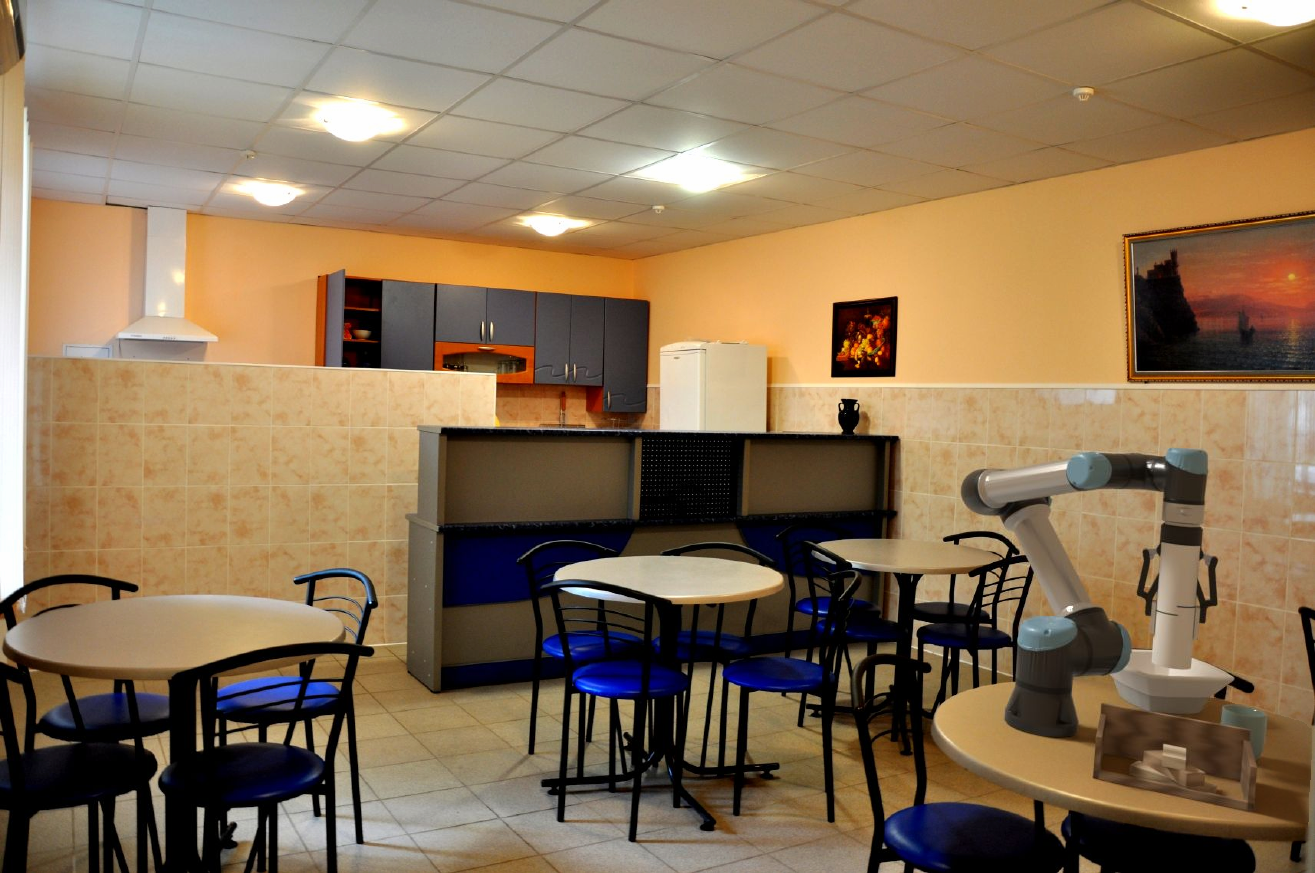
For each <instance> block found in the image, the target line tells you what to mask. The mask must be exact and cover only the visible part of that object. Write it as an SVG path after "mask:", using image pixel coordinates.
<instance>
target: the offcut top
mask: <svg viewBox="0 0 1315 873" xmlns="http://www.w3.org/2000/svg"><path fill="white" fill-rule="evenodd" d="M1185 765H1186V748H1182V747H1177V746H1172V745H1167V744H1164V745H1163V756H1162V766H1165V767H1170V768H1174V769H1179V770H1184V771H1185Z"/></svg>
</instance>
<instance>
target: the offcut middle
mask: <svg viewBox="0 0 1315 873" xmlns="http://www.w3.org/2000/svg"><path fill="white" fill-rule="evenodd" d="M1162 756H1163V751H1162V750H1152V751H1144V757H1143V761H1142V762H1143V764H1145V765H1147V766H1149V767H1150V768H1152V769H1154V770H1156V771H1158V772H1159V773H1161V774H1163V775H1165V776H1167V777H1169V778H1170V779H1172V780H1174V781H1176V782H1178V783H1179V784H1181V785H1183V786H1185V787H1194V786H1204V785H1205V782H1206V774H1205V772H1203V771H1201V770H1199V769H1197V768H1195V767H1193V766H1192V765H1190V764H1188V763H1186V765H1185V771H1184V770H1179V769H1174V768H1170V767H1165V766H1162Z"/></svg>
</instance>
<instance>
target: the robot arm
mask: <svg viewBox="0 0 1315 873" xmlns="http://www.w3.org/2000/svg"><path fill="white" fill-rule="evenodd" d="M1208 463H1209V456H1208V452H1207V451H1205V450H1204V449H1199V448H1185V447H1182V448H1181V447H1170V448H1168V449H1167V450H1166V455H1165V456H1164V455H1154V454H1145V453H1140V452H1127V453H1125V452H1124V453H1110V452H1108V453H1107V452H1096V451H1087V452H1078V453H1076V454H1074V455H1073V456H1072V457H1067V458H1063V459H1057V460H1052V461H1046V462H1041V463H1036V464H1031V465H1026V466H1021V467H1014V468H1008V469H1004V468H1003V469H1001V468H993V467H991V468H981V469H980V468H979V469H976V470H974V471H971V472H970V473H969V474H967V475H966V476H965V478H964V479H963V480H962V483H961V486H960V496H961V499H962V501H963V503H964V505H965V507H966V508H968V510H970V512H971V511H972V512H973V513H975V514H978V515H980V516H987V517H988V516H989V517H991V516H992V517H993V516H994V517H996V516H997V517H999V518H1000V520H1001V522H1002V524H1003V526H1004V528H1005V529H1006V530H1008V531H1010V532H1013V533H1014V534H1015V536H1016V538H1017V541H1018V542H1019V544H1020V546H1021V548H1022V551H1023V553H1024V555H1025V556H1026V559H1027V561H1028V563H1029V565H1030V567H1031V569H1032V572H1033V573H1034V575H1035V577H1036V579H1037V581H1038V583H1039V585H1040V588H1041V590H1042V591H1043V593H1044V595H1045V598H1046V599H1047V602H1048V603H1049V606H1050V608H1051V609H1052V611H1053V614H1054V615H1051V616H1047V615H1039V616H1032V617H1029V618H1026V619H1024V620H1023V621H1022V622H1021V624H1020V626H1019V631H1018V637H1017V651H1016V668H1015V670H1016V671H1015V681H1014V688H1013V690H1012V693H1010V694H1011V695H1010V697H1009V699H1008V701H1007V704H1006V707H1004V708H1005V709H1004V716H1003V718H1004V719H1003V720H1004V721H1005V722H1006V724H1008V725H1009V726H1011V727H1013V728H1015V729H1017V730H1019V731H1023V732H1026V733H1030V734H1034V735H1039V736H1045V737H1053V738H1054V737H1055V738H1062V737H1063V738H1064V737H1066V738H1067V737H1072V736H1075V735H1077V734H1078V732H1079V722H1080V721H1079V718H1078V714H1077V710H1076V709H1077V708H1076V706H1075V702H1074V699H1073V684H1074V678H1081V677H1082V678H1083V677H1090V676H1091V677H1092V676H1100V677H1103V676H1104V677H1105V676H1108V675H1110V674H1113V673H1117V672H1120V671H1121V670H1123V669H1124V668H1125V667H1126V666H1127V664H1128V662H1129V660H1130V654H1131V653H1132V650H1133V644H1132V638H1131V636H1130V633H1129V631H1128V629H1127V628H1126V627H1125V626H1124V625H1123V624H1121V623H1118V622H1117V621H1114V620H1110V619H1109V617H1108V615H1107V613H1106V611H1105V609H1104V607H1102V606H1101V605H1098V604H1094V603H1093V602H1092V600H1091V597H1090V595H1089V594H1088V592H1087V590H1086V588H1085V586H1084V584H1083V582H1082V581H1081V578H1080V577H1079V575H1078V573H1077V570H1076V569H1075V567H1074V565H1073V563H1072V561H1071V559H1070V557H1069V555H1068V553H1067V552H1066V550H1065V548H1064V546H1063V544H1062V542H1061V540H1060V538H1059V536H1058V534H1057V532H1056V531H1055V528H1054V527H1053V525H1052V523H1051V520H1050V519H1049V517H1050V515H1051V514H1052V513H1051V512H1052V510H1051V506H1052V503H1053V498H1051V497H1052V496H1053V497H1054V496H1060V495H1065V494H1073V493H1080V492H1089V491H1096V490H1097V491H1098V490H1136V491H1137V490H1143V491H1150V492H1151V491H1152V492H1159V493H1162V495H1163V496H1162V497H1163V498H1162V507H1161V508H1162V509H1161V510H1162V511H1161V520H1162V521H1163V522H1162V524H1160V532H1159V533H1160V534H1159V544H1158V545H1157V547H1156V548H1147V547H1145V548H1143V549H1142V553H1141V554H1142V558H1143V562H1142V567H1141V570H1140V571H1141V572H1140V576H1139V580H1138V584H1137V586H1138V587H1137V589H1136V596H1138V597H1140V598H1141V599H1144V600H1145V606H1144V614H1145V616H1146V617H1150V624H1149V634H1152V635H1154V625H1155V612H1156V599H1154V597H1155V596H1156V595H1157V590H1158V584H1159V574H1158V573H1157V575H1156V576H1155V578H1154V581H1153V582H1152V584H1151V586H1150V588H1149V590H1148V592H1147V591H1146V590H1145V587H1146V583H1147V579H1148V574H1149V569H1150V564H1151V560H1153V559H1154V558H1155V555H1158V557H1159V558H1160V555H1161V542H1166V543H1171V544H1178V545H1188V546H1196V545H1197V546H1200V554H1199V562H1201V560H1204V564H1205V566H1207V574H1208V575H1207V576H1208V589H1209V599H1206V598H1205V595H1204V592H1203V588H1202V586H1201V583H1200V580H1199V576H1198V577H1197V590H1196V595H1197V600H1198V601H1197V602H1199V605H1196V611H1195V624H1194V636H1193V641H1198V639H1199V629H1200V624H1206V621H1207V612H1208V611H1207V609H1208V608H1210V607H1217V606H1218V604H1219V603H1218V591H1217V576H1216V572H1217V571H1216V569H1217V565H1218V563H1219V558H1218V556H1216V555H1210V554H1206V553H1204V551H1203V548H1202V544H1203V533H1204V529H1203V527H1202V526H1201V525H1203V524H1204V521H1205V510H1206V509H1205V506H1206V499H1205V498H1206V491H1207V490H1206V489H1207V483H1208V482H1207V481H1208V474H1209V468H1208V467H1209V466H1208V465H1209V464H1208Z"/></svg>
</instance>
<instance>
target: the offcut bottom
mask: <svg viewBox="0 0 1315 873" xmlns="http://www.w3.org/2000/svg"><path fill="white" fill-rule="evenodd" d="M1128 770H1129V772H1128V774H1129V776H1132V777H1137V778H1142V779H1147V780H1151V781H1156V782H1161V783H1166V784H1171V785H1175V786H1180V787H1185V786H1183V785H1181V784H1179V783H1178V782H1176V781H1174V780H1172V779H1170V778H1169V777H1167V776H1165V775H1163V774H1161V773H1159V772H1158V771H1156V770H1154V769H1152V768H1150V767H1149V766H1147V765H1145V764H1143V761H1140V760H1136V761H1135V762H1132V763H1130V764H1129V769H1128ZM1185 788H1190V789H1194V790H1199V791H1204V792H1209V793H1213V794H1217V790H1218V789H1217V788H1218V785H1216V784H1213V783H1210V782H1207V781H1205V785H1204V786H1194V787H1185Z"/></svg>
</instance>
